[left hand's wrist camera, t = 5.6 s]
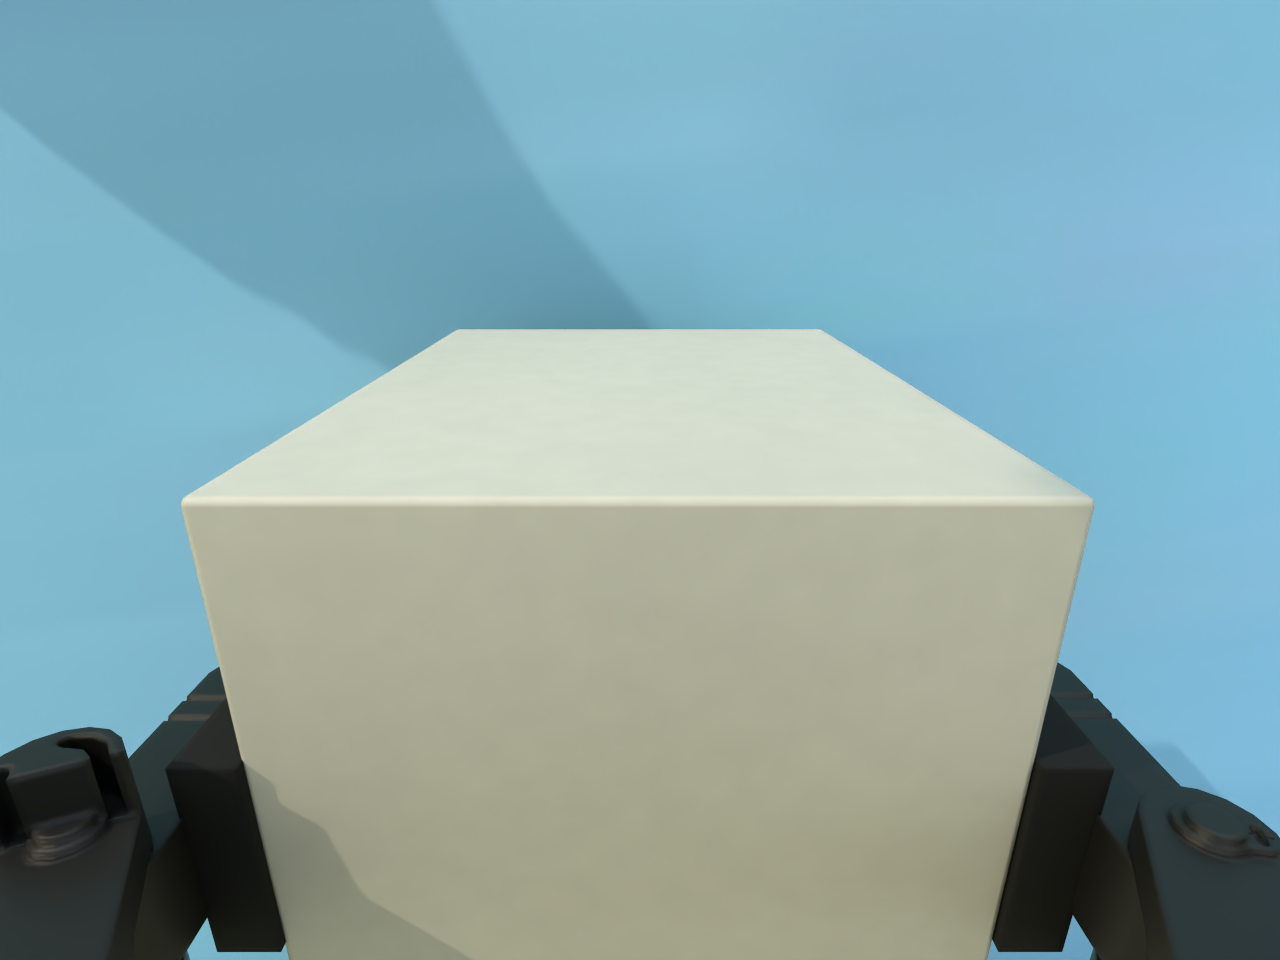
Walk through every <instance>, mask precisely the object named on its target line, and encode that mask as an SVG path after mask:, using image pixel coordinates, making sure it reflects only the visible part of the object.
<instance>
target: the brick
mask: <svg viewBox="0 0 1280 960" xmlns="http://www.w3.org/2000/svg"><path fill="white" fill-rule="evenodd" d="M181 508H182V512H183V516H184V521H185V525H186V529H187V533H188V537H189V541H190V546H191V550H192V554H193V558H194V562H195V567H196V571H197V575H198V579H199V583H200V587H201V592H202V596H203V600H204V604H205V608H206V613H207V617H208V621H209V625H210V629H211V633H212V638H213V642H214V646H215V650H216V654H217V659H218V663H219V667H220V671H221V675H222V680H223V684H224V688H225V692H226V696H227V700H228V705H229V709H230V713H231V717H232V721H233V726H234V730H235V734H236V738H237V742H238V746H239V751H240V755H241V759H242V760H243V764H244V768H245V772H246V776H247V781H248V785H249V789H250V793H251V797H252V802H253V806H254V810H255V814H256V818H257V823H258V827H259V831H260V835H261V839H262V844H263V848H264V852H265V856H266V860H267V865H268V869H269V873H270V877H271V881H272V886H273V890H274V894H275V898H276V902H277V907H278V911H279V915H280V919H281V923H282V928H283V932H284V936H285V940H286V947H287V952H288V956H289V960H987V958H988V953H989V949H990V945H991V941H992V937H993V932H994V928H995V924H996V920H997V915H998V911H999V907H1000V903H1001V898H1002V894H1003V890H1004V886H1005V882H1006V877H1007V873H1008V869H1009V865H1010V860H1011V856H1012V852H1013V848H1014V843H1015V839H1016V835H1017V831H1018V827H1019V822H1020V818H1021V814H1022V810H1023V805H1024V801H1025V797H1026V793H1027V788H1028V784H1029V780H1030V776H1031V772H1032V767H1033V763H1034V759H1035V755H1036V750H1037V746H1038V742H1039V738H1040V733H1041V729H1042V725H1043V721H1044V717H1045V712H1046V708H1047V704H1048V700H1049V695H1050V691H1051V687H1052V683H1053V679H1054V674H1055V670H1056V666H1057V662H1058V657H1059V653H1060V649H1061V645H1062V640H1063V636H1064V632H1065V628H1066V624H1067V619H1068V615H1069V611H1070V607H1071V602H1072V598H1073V594H1074V590H1075V585H1076V581H1077V577H1078V573H1079V569H1080V564H1081V560H1082V556H1083V552H1084V547H1085V543H1086V539H1087V535H1088V530H1089V526H1090V522H1091V518H1092V514H1093V509H1094V502H1093V499H1092V497H1090V496H1088V495H1087V494H1085V493H1084V492H1082V491H1080V490H1079V489H1077V488H1075V487H1074V486H1072V485H1071V484H1069V483H1067V482H1066V481H1064V480H1063V479H1061V478H1059V477H1058V476H1056V475H1055V474H1053V473H1051V472H1050V471H1048V470H1046V469H1045V468H1043V467H1042V466H1040V465H1038V464H1037V463H1035V462H1034V461H1032V460H1030V459H1029V458H1027V457H1025V456H1024V455H1022V454H1021V453H1019V452H1017V451H1016V450H1014V449H1013V448H1011V447H1009V446H1008V445H1006V444H1005V443H1003V442H1001V441H1000V440H998V439H996V438H995V437H993V436H992V435H990V434H988V433H987V432H985V431H984V430H982V429H980V428H979V427H977V426H975V425H974V424H972V423H971V422H969V421H967V420H966V419H964V418H963V417H961V416H959V415H958V414H956V413H955V412H953V411H951V410H950V409H948V408H946V407H945V406H943V405H942V404H940V403H938V402H937V401H935V400H934V399H932V398H930V397H929V396H927V395H926V394H924V393H922V392H921V391H919V390H917V389H916V388H914V387H913V386H911V385H909V384H908V383H906V382H905V381H903V380H901V379H900V378H898V377H896V376H895V375H893V374H892V373H890V372H888V371H887V370H885V369H884V368H882V367H880V366H879V365H877V364H876V363H874V362H872V361H871V360H869V359H867V358H866V357H864V356H863V355H861V354H859V353H858V352H856V351H855V350H853V349H851V348H850V347H848V346H846V345H845V344H843V343H842V342H840V341H838V340H837V339H835V338H834V337H832V336H830V335H829V334H827V333H826V332H824V331H822V330H820V329H458V330H456V331H454V332H453V333H451V334H449V335H448V336H446V337H444V338H443V339H441V340H440V341H438V342H436V343H435V344H433V345H431V346H430V347H428V348H426V349H425V350H423V351H422V352H420V353H418V354H417V355H415V356H413V357H412V358H410V359H409V360H407V361H405V362H404V363H402V364H400V365H399V366H397V367H396V368H394V369H392V370H391V371H389V372H387V373H386V374H384V375H383V376H381V377H379V378H378V379H376V380H374V381H373V382H371V383H369V384H368V385H366V386H365V387H363V388H361V389H360V390H358V391H356V392H355V393H353V394H352V395H350V396H348V397H347V398H345V399H343V400H342V401H340V402H339V403H337V404H335V405H334V406H332V407H330V408H329V409H327V410H326V411H324V412H322V413H321V414H319V415H317V416H316V417H314V418H313V419H311V420H309V421H308V422H306V423H304V424H303V425H301V426H299V427H298V428H296V429H295V430H293V431H291V432H290V433H288V434H286V435H285V436H283V437H282V438H280V439H278V440H277V441H275V442H273V443H272V444H270V445H269V446H267V447H265V448H264V449H262V450H260V451H259V452H257V453H256V454H254V455H252V456H251V457H249V458H247V459H246V460H244V461H242V462H241V463H239V464H238V465H236V466H234V467H233V468H231V469H229V470H228V471H226V472H225V473H223V474H221V475H220V476H218V477H216V478H215V479H213V480H212V481H210V482H208V483H207V484H205V485H203V486H202V487H200V488H199V489H197V490H195V491H194V492H192V493H190V494H189V495H187V496H185V497H184V498H183V500H182V505H181Z"/></svg>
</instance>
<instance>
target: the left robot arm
mask: <svg viewBox="0 0 1280 960" xmlns="http://www.w3.org/2000/svg"><path fill="white" fill-rule="evenodd" d="M1111 715H1112V713H1111V712H1110V711H1109V710H1108V709H1107V708H1106V707H1105V706H1104V705H1103V704H1102V703H1101V702H1100V701H1099V700H1098V699H1094V698H1093V693H1092V692H1091V691H1090V690H1089V689H1088V688H1087V687H1086V686H1085V685H1084V684H1083V683H1082V682H1081V681H1080V680H1079V679H1078V678H1077V677H1076V676H1075V674H1074V673H1073V672H1072V671H1071V670H1069V669H1067V668H1066V667H1064V666H1063V665H1061V664H1059V663H1058V662H1057V666H1056V670H1055V674H1054V679H1053V683H1052V687H1051V691H1050V695H1049V700H1048V704H1047V708H1046V712H1045V717H1044V721H1043V725H1042V729H1041V733H1040V738H1039V742H1038V746H1037V750H1036V755H1035V759H1034V763H1033V767H1032V772H1031V776H1030V780H1029V784H1028V788H1027V793H1026V797H1025V801H1024V805H1023V810H1022V814H1021V818H1020V822H1019V827H1018V831H1017V835H1016V839H1015V843H1014V848H1013V852H1012V856H1011V860H1010V865H1009V869H1008V873H1007V877H1006V882H1005V886H1004V890H1003V894H1002V898H1001V903H1000V907H999V911H998V915H997V920H996V924H995V928H994V932H993V937H992V940H993V942H994V944H995V946H996V948H997V950H998V952H1062V950H1063V947H1064V943H1065V940H1066V936H1067V933H1068V929H1069V926H1070V922H1071V919H1072V915H1073V916H1074V917H1075V919H1076V920H1077V922H1078V924H1079V925H1080V927H1081V928H1082V930H1083V932H1084V933H1085V935H1086V937H1087V938H1088V940H1089V941H1090V943H1091V945H1092V946H1093V952H1092V955H1091V958H1090V960H1280V838H1279V836H1278V835H1277V834H1276V833H1275V832H1274V831H1273V830H1271V829H1270V828H1269V827H1268V826H1267V825H1265V824H1264V823H1263V822H1262V821H1260V820H1259V819H1258V818H1257V817H1256V816H1254V815H1253V814H1251V813H1249V812H1248V811H1246V810H1244V809H1242V808H1240V807H1239V806H1237V805H1235V804H1233V803H1231V802H1230V801H1228V800H1226V799H1223V798H1221V797H1218V796H1215V795H1212V794H1210V793H1207V792H1204V791H1201V790H1198V789H1193V788H1187V787H1181V786H1180V785H1179V784H1178V783H1177V782H1176V781H1175V780H1174V779H1173V778H1172V777H1171V776H1170V775H1169V773H1168V772H1167V771H1166V770H1165V769H1164V768H1163V767H1162V766H1161V765H1160V764H1159V763H1158V762H1157V761H1156V760H1155V759H1154V758H1153V757H1152V756H1151V755H1150V753H1149V752H1148V751H1147V750H1146V749H1145V748H1144V747H1143V746H1142V745H1141V744H1140V743H1139V742H1138V741H1137V740H1136V739H1135V738H1134V737H1133V736H1132V735H1131V733H1130V732H1129V731H1128V730H1127V729H1126V728H1125V727H1124V726H1123V725H1122V724H1121V723H1120V722H1119V721H1118V720H1117V719H1113V718H1112V716H1111ZM207 917H208V921H209V924H210V928H211V931H212V935H213V938H214V942H215V945H216V949H217V952H281V951H282V949H283V947H284V945H285V943H286V940H285V936H284V932H283V928H282V923H281V919H280V915H279V911H278V907H277V902H276V898H275V894H274V890H273V886H272V881H271V877H270V873H269V869H268V865H267V860H266V856H265V852H264V848H263V844H262V839H261V835H260V831H259V827H258V823H257V818H256V814H255V810H254V806H253V802H252V797H251V793H250V789H249V785H248V781H247V776H246V772H245V768H244V764H243V760H242V759H241V755H240V751H239V746H238V742H237V738H236V734H235V730H234V726H233V721H232V717H231V713H230V709H229V705H228V700H227V696H226V692H225V688H224V684H223V680H222V675H221V671H220V667H218V668H217V669H215V670H213V671H212V672H210V673H209V674H208V675H207V676H206V677H205V678H204V679H203V680H202V681H201V682H200V683H199V684H198V685H197V687H196V688H195V689H194V690H193V691H192V692H191V693H190V694H189V695H188V696H187V701H182V702H181V703H180V705H179V706H178V707H177V708H176V709H175V710H174V711H173V712H172V713H171V714H170V715H169V719H168V721H164V722H163V723H162V724H161V725H160V726H159V727H158V728H157V729H156V730H155V731H154V732H153V733H152V734H151V735H150V736H149V737H148V738H147V740H146V741H145V742H144V743H143V744H142V745H141V746H140V747H139V748H138V749H137V750H136V751H135V752H134V753H133V754H132V755H131V756H130V758H129V759H128V756H127V753H126V750H125V747H124V743H123V740H122V737H120V736H119V735H117V734H116V733H114V732H113V731H112V730H110V729H102V728H93V727H87V728H80V729H73V730H65V731H61V732H58V733H55V734H51V735H48V736H45V737H42V738H39V739H36V740H33V741H31V742H29V743H27V744H25V745H23V746H20V747H18V748H16V749H14V750H12V751H10V752H8V753H6V754H4V755H3V756H1V757H0V960H190V958H189V955H188V952H187V949H188V948H189V946H190V944H191V943H192V941H193V940H194V938H195V936H196V935H197V933H198V932H199V930H200V928H201V927H202V925H203V923H204V922H205V920H206V919H207Z"/></svg>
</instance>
